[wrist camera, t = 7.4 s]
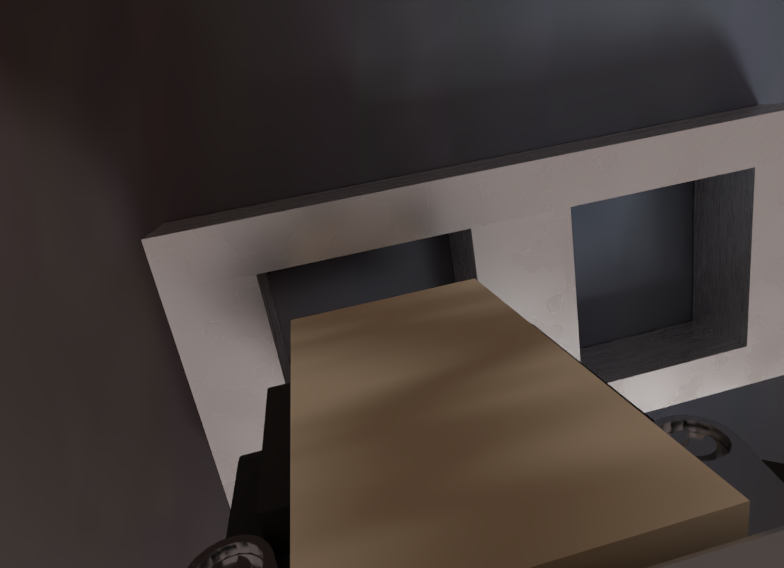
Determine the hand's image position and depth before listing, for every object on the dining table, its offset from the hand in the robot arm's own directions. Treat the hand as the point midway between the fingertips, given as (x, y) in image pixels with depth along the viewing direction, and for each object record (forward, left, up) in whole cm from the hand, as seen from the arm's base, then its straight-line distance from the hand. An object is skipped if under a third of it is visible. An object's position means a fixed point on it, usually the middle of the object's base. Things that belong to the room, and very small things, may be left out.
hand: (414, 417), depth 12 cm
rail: (-5, 0, -6) cm, 8 cm away
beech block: (0, 0, -2) cm, 2 cm away
